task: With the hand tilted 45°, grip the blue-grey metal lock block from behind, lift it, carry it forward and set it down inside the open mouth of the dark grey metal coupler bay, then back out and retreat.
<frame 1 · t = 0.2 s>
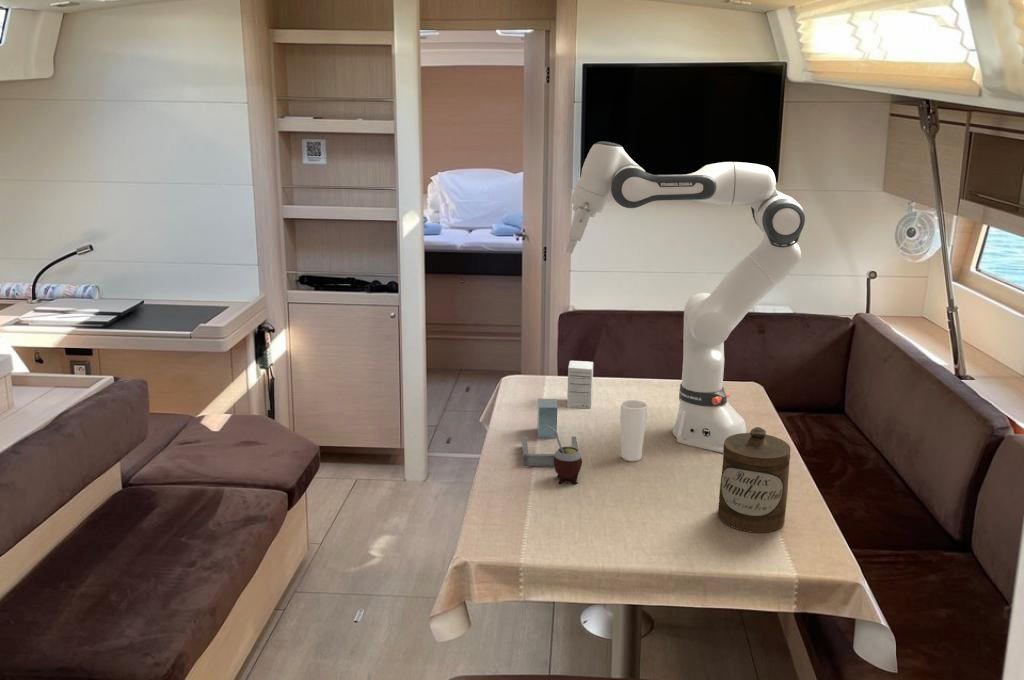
hand: (569, 249, 255), 51 cm above the table, tool tilted 20°, fingers open, 8 cm apart
lock block: (546, 433, 266), on the table
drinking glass: (631, 458, 250), on the table
mate gourd: (565, 481, 236), on the table
coupler bay: (550, 455, 251), on the table
supplement box: (579, 404, 289), on the table
wooden container: (750, 518, 218), on the table
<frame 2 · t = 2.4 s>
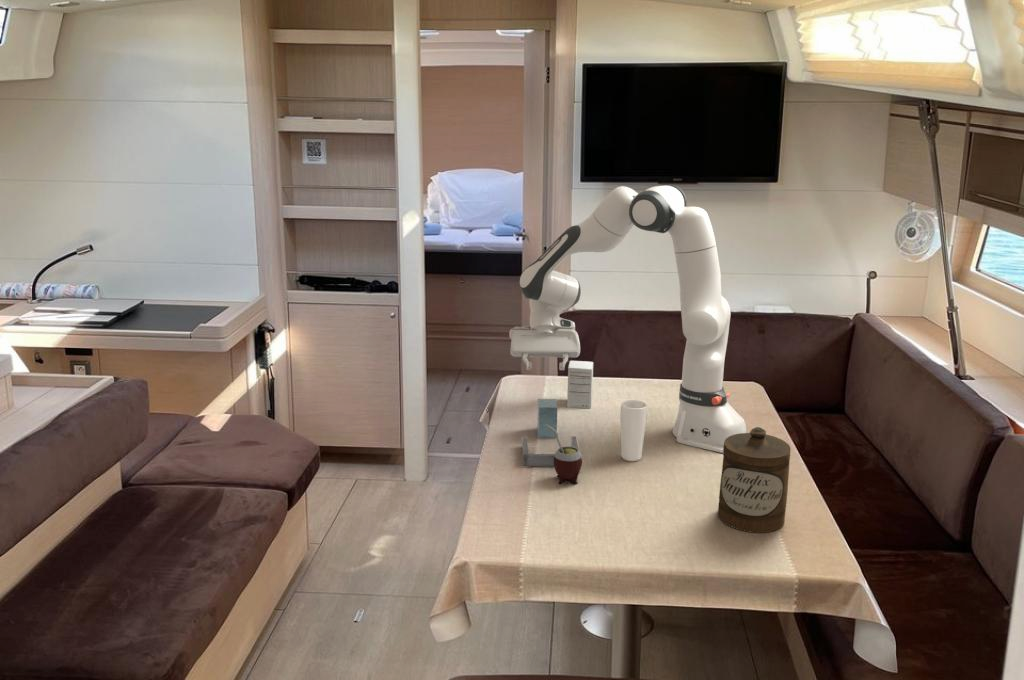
hand: (545, 369, 274), 15 cm above the table, tool tilted 45°, fingers open, 8 cm apart
nothing on the table moved.
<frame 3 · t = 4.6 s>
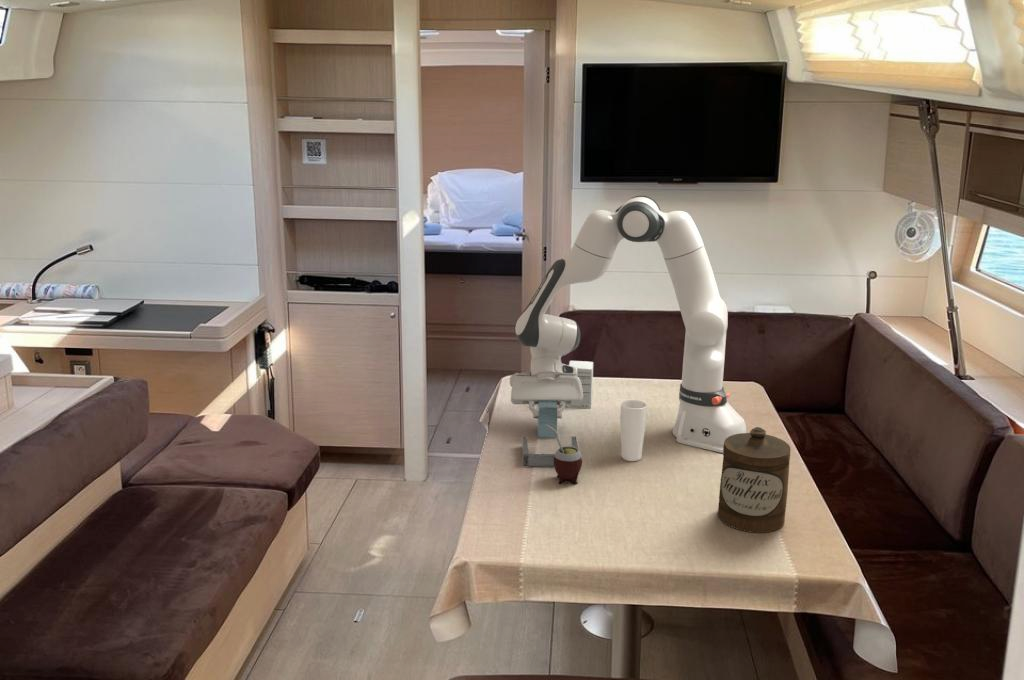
hand: (547, 417, 264), 5 cm above the table, tool tilted 45°, fingers closed on lock block, 5 cm apart
lock block: (546, 433, 266), on the table, touching gripper
everything else where it was.
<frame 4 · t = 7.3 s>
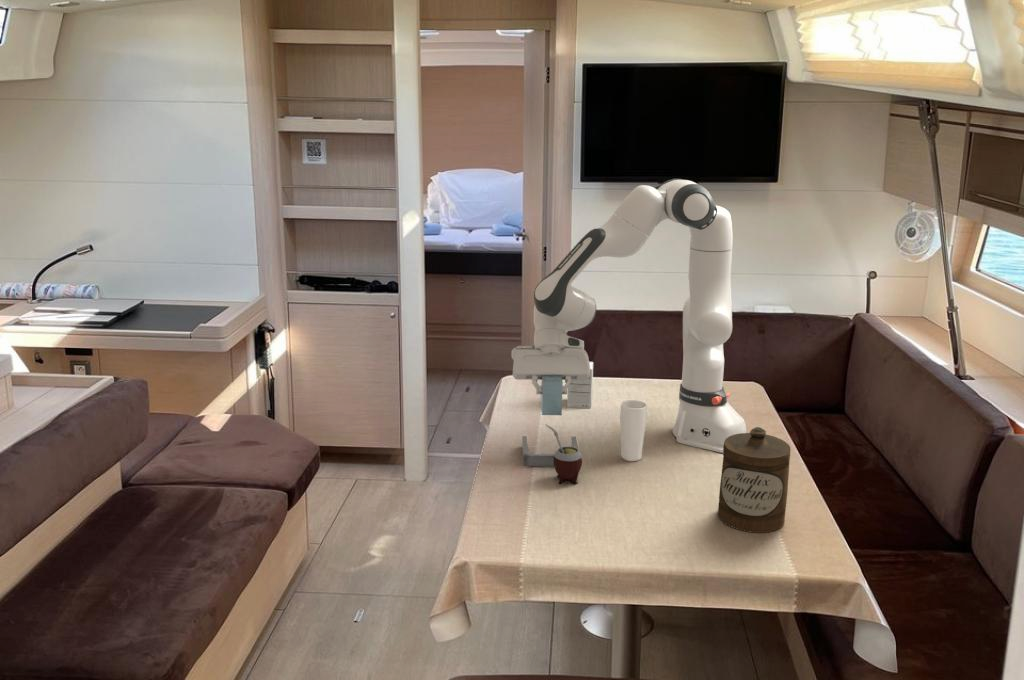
hand: (551, 393, 246), 17 cm above the table, tool tilted 45°, fingers closed on lock block, 5 cm apart
lock block: (551, 410, 248), point 12 cm above the table, touching gripper
everything else where it was.
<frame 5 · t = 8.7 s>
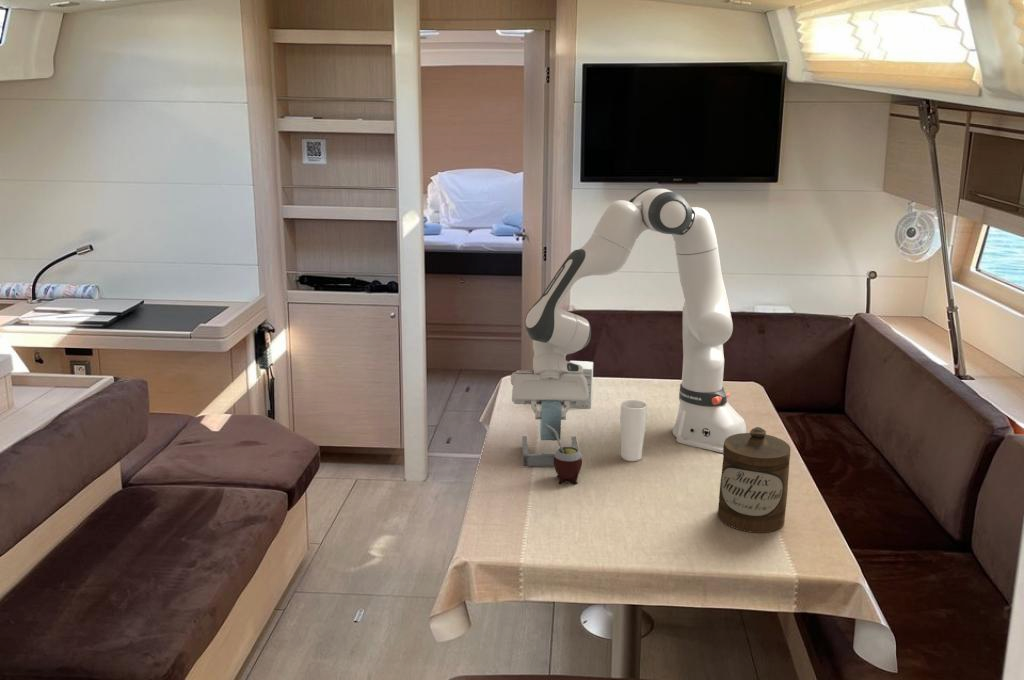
hand: (550, 418, 248), 11 cm above the table, tool tilted 45°, fingers closed on lock block, 5 cm apart
lock block: (549, 435, 250), point 6 cm above the table, touching gripper
everything else where it was.
when the fingers open (6 cm above the table, at t = 10.0 s): lock block stays where it is, on the table.
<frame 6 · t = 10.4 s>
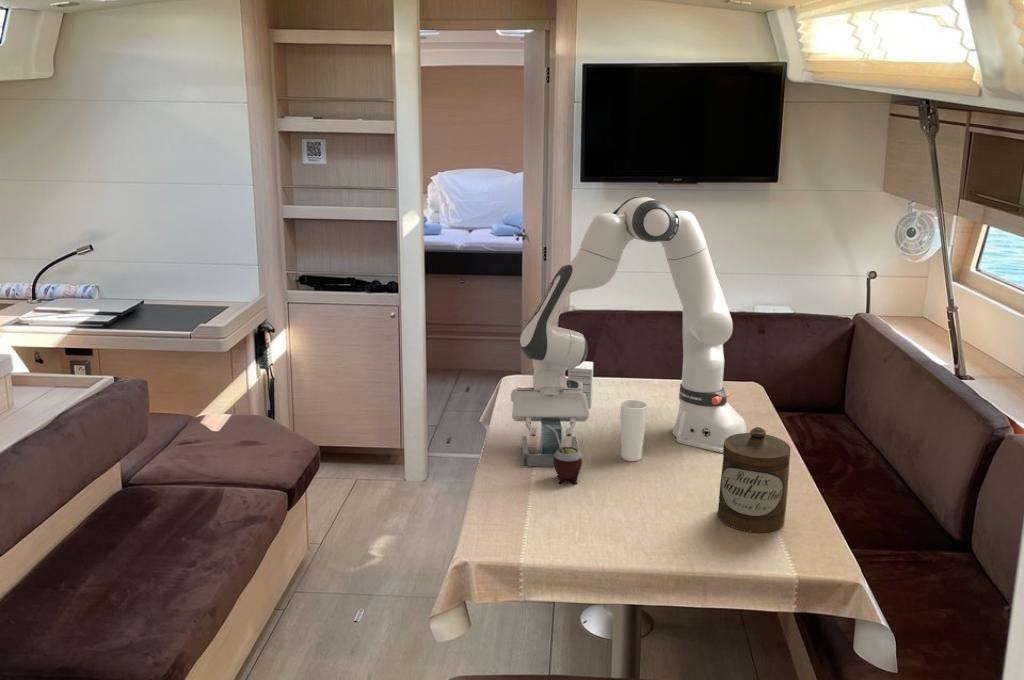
hand: (550, 435, 249), 6 cm above the table, tool tilted 45°, fingers open, 8 cm apart
lock block: (550, 455, 251), on the table
everything else where it was.
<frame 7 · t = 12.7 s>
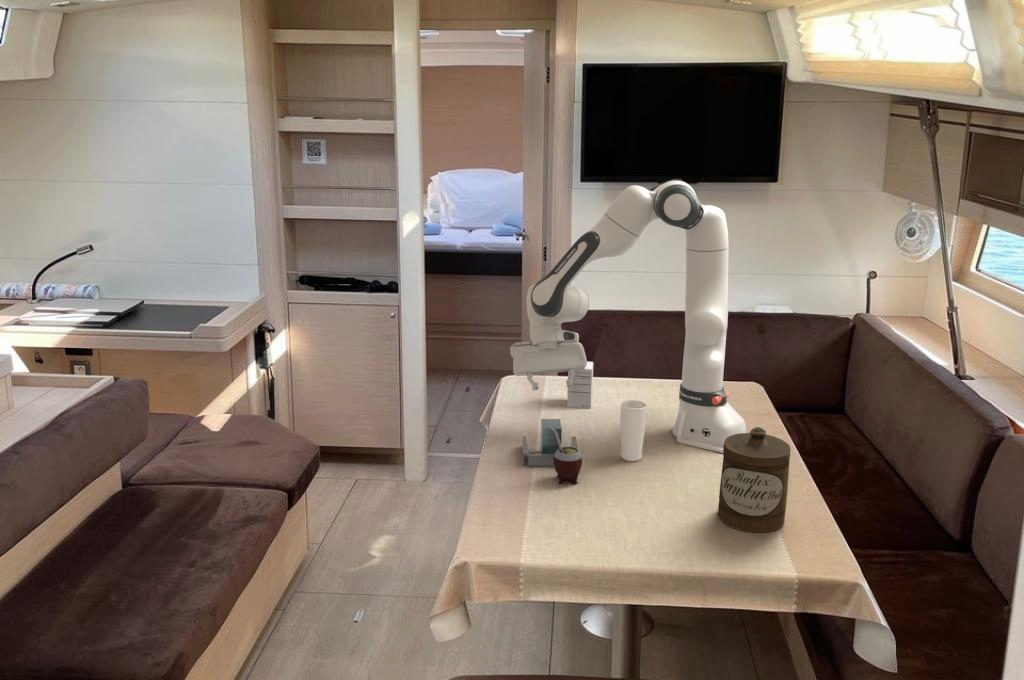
hand: (552, 388, 260), 14 cm above the table, tool tilted 35°, fingers open, 8 cm apart
nothing on the table moved.
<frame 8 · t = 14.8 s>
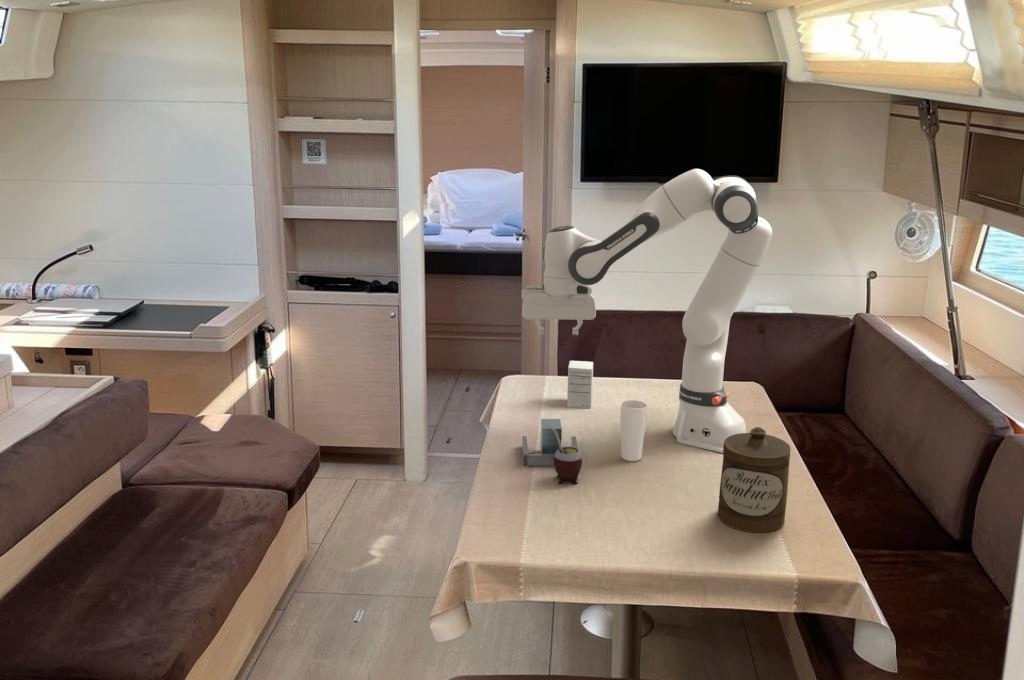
hand: (558, 334, 264), 27 cm above the table, tool pointing down, fingers open, 8 cm apart
nothing on the table moved.
at the end: lock block 0.1 cm from the coupler bay (horizontally); lock block tilted 0°; the gripper is holding nothing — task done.
